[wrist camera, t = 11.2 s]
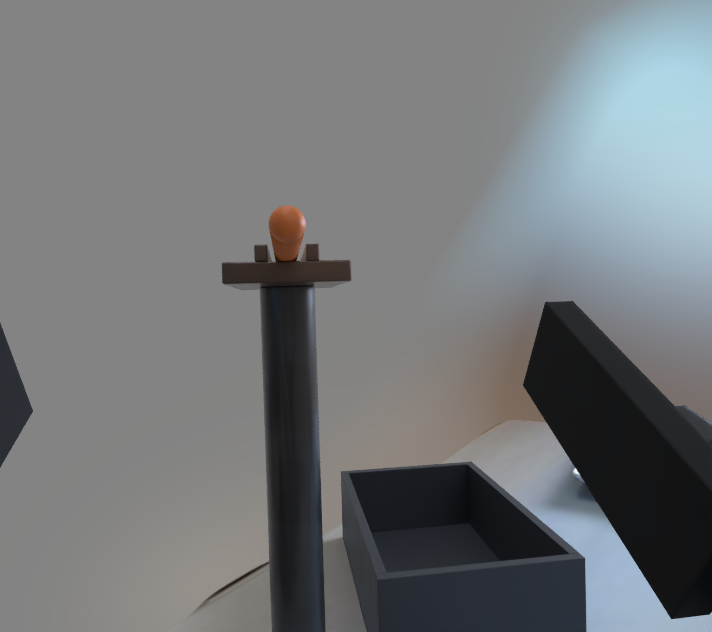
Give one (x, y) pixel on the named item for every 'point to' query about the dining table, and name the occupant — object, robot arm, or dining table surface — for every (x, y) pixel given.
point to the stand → (291, 426)
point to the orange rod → (286, 232)
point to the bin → (455, 555)
